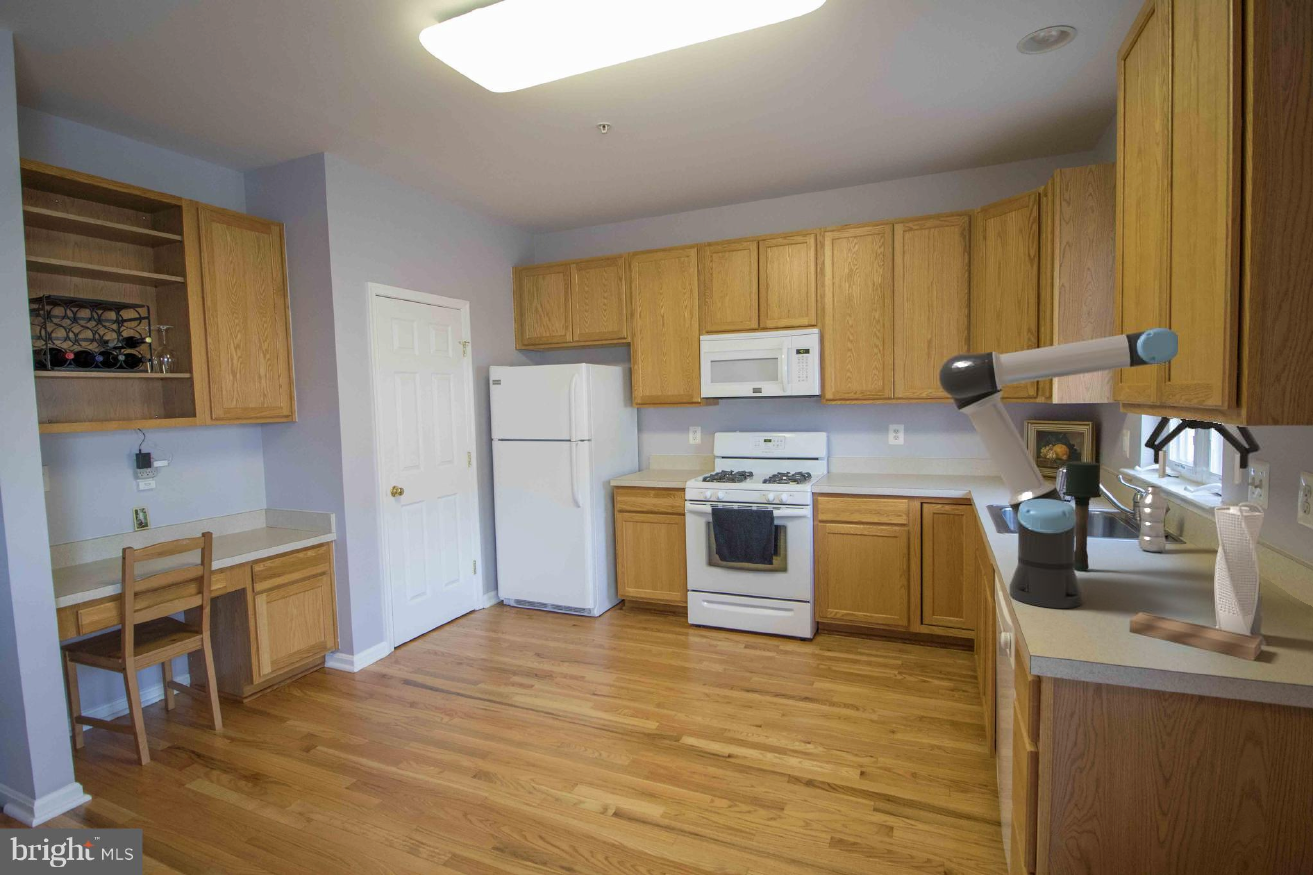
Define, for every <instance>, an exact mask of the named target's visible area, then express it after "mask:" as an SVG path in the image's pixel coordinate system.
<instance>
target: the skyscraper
mask: <svg viewBox="0 0 1313 875" xmlns="http://www.w3.org/2000/svg"><path fill="white" fill-rule="evenodd" d="M1245 505H1246V506H1254V507H1256V508H1258V509H1259V511H1260V512H1256V511H1250V508H1249V507H1245ZM1228 508H1229V509H1228ZM1213 510H1214V516H1215V525H1216V532H1217V536H1218V537H1217V538H1218V542H1219V546H1218V550H1217V554H1216V560H1215V565H1214V580H1213V581H1214V589H1213V590H1214V605H1215V608H1214V609H1215V617H1216V624H1215V625H1214V628H1218V629H1222V630H1227V631H1232V632H1236V633H1241V634H1246V635H1251V636H1255V637H1260V638H1262V640H1261V646H1267V641H1266V639H1265V638H1264V636H1263V634H1262V623H1263V617H1262V601H1263V595H1262V594H1260V592H1261V581H1260V573H1259V570H1260V568H1259V562H1258V557H1257V551H1256V545H1257V543H1258V539H1259V535H1260V532H1261V530H1262V525H1263V521H1264V518H1265V512H1264V510H1263V509H1262V507H1261V506H1260V505H1259V504H1258V503H1255V502H1250V501H1249V502H1248V501H1245V502H1240V503H1239V504H1238V505H1237V506H1235V505H1218V506H1216V507H1215V508H1214V509H1213Z"/></svg>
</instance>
